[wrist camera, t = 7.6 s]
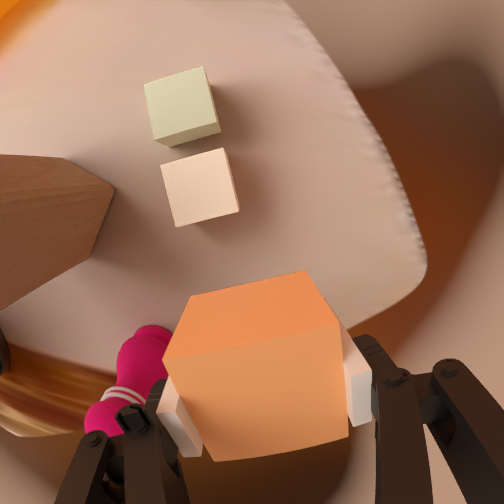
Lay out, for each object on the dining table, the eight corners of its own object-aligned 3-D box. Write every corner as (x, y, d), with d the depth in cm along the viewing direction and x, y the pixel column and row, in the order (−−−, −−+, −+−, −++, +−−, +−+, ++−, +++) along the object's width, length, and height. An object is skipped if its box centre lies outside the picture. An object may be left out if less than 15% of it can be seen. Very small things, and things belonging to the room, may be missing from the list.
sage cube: (169, 147, 31) (154, 140, 25) (159, 99, 29) (143, 84, 24) (221, 132, 31) (216, 121, 25) (210, 85, 29) (203, 66, 23)
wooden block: (61, 155, 30) (-61, 150, 11) (120, 187, 31) (-3, 200, 12) (38, 225, 32) (-75, 262, 12) (91, 260, 33) (-17, 328, 14)
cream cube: (187, 219, 33) (175, 227, 27) (174, 168, 31) (160, 165, 25) (239, 206, 32) (238, 211, 27) (227, 154, 31) (223, 147, 25)
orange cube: (221, 385, 16) (214, 461, 11) (190, 296, 15) (161, 359, 9) (320, 364, 16) (348, 436, 10) (304, 270, 15) (339, 323, 9)
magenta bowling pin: (146, 310, 35) (74, 419, 15) (192, 343, 36) (158, 469, 17) (122, 345, 36) (55, 450, 17) (165, 375, 37) (124, 492, 18)
